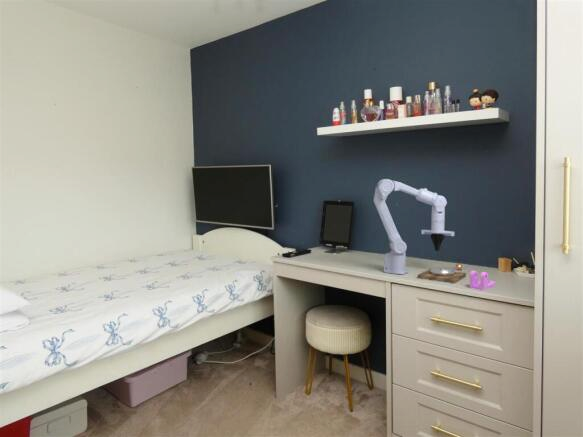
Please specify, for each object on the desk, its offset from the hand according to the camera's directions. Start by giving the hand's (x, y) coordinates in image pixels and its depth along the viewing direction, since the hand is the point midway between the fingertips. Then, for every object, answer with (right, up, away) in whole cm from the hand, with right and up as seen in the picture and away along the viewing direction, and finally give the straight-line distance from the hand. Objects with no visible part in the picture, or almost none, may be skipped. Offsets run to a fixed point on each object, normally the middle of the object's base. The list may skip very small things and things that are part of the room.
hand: (437, 250), depth 198 cm
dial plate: (-1, -11, -8) cm, 14 cm away
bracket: (+10, -13, -25) cm, 30 cm away
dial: (+1, -10, -9) cm, 13 cm away
